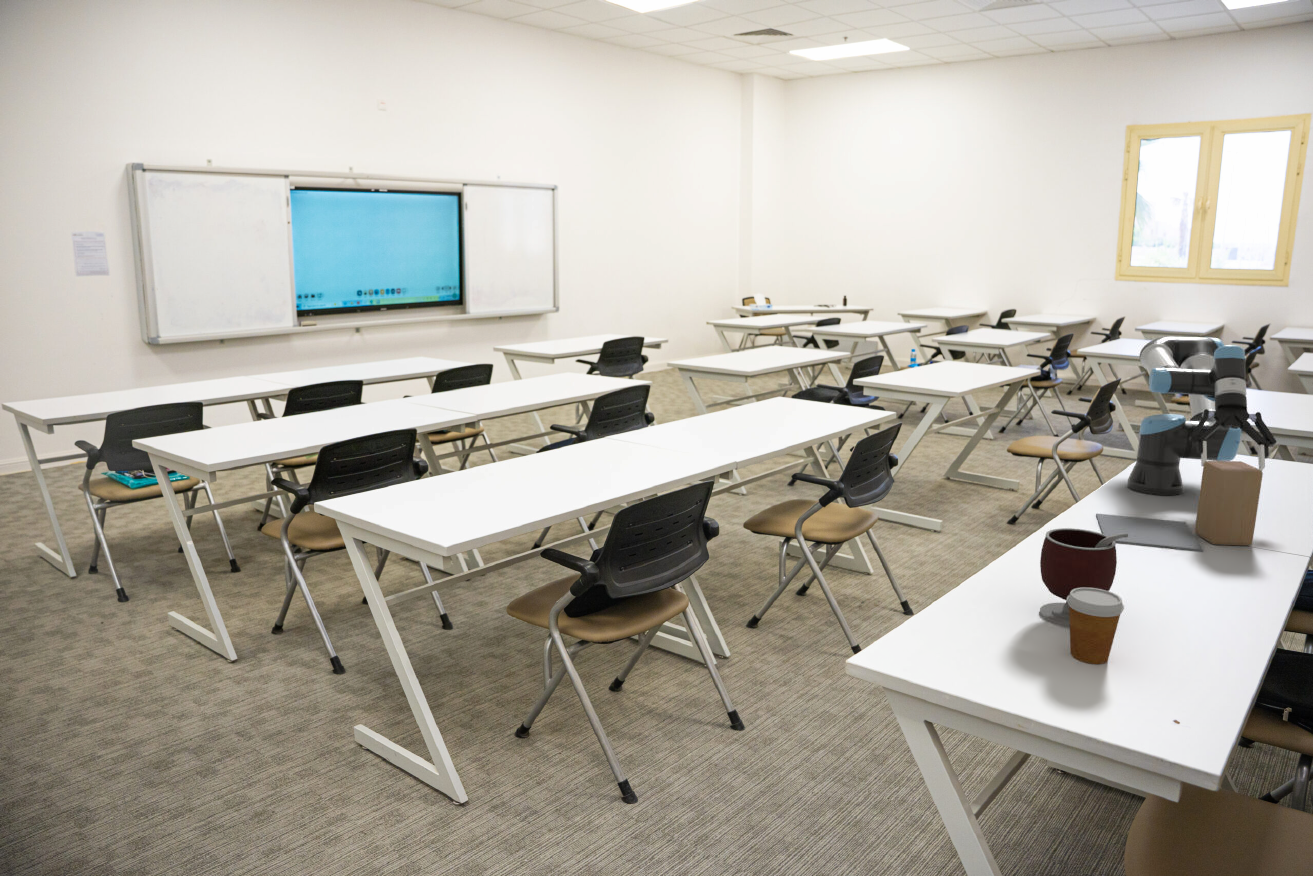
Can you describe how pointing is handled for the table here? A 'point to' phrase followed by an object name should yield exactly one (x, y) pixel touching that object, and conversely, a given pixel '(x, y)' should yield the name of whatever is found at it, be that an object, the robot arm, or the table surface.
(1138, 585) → the table surface
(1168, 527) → the mat
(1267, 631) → the table surface
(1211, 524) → the wooden block
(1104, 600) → the disposable coffee cup
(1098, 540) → the mate gourd
